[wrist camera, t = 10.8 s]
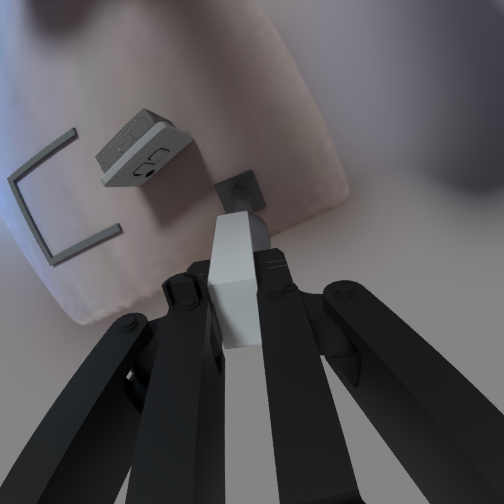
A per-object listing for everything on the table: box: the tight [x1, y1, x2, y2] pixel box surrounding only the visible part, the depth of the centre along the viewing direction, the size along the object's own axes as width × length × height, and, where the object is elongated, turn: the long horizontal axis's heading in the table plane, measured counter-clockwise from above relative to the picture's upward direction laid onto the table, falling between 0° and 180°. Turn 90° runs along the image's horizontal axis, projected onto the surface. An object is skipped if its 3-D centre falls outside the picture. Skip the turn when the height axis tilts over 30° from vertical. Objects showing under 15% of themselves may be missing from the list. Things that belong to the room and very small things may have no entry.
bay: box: [7, 128, 122, 266], centre depth 38 cm, size 16×15×1 cm
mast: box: [214, 170, 266, 214], centre depth 33 cm, size 5×5×14 cm
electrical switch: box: [95, 108, 193, 187], centre depth 32 cm, size 9×5×9 cm, turn 128°
